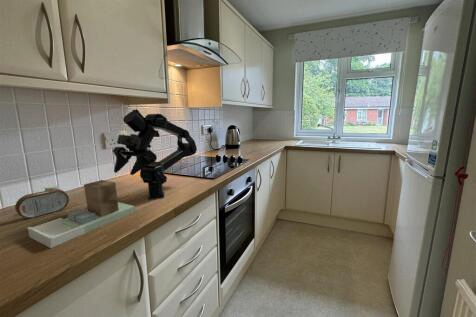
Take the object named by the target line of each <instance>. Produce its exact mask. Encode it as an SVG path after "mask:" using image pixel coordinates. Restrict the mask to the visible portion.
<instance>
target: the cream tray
mask: <svg viewBox="0 0 476 317" xmlns="http://www.w3.org/2000/svg"><path fill="white" fill-rule="evenodd" d="M62 219H63V218H62V217H59V218H56V219H53V220H51V221H48V222H44V223H41V224H39V225H35V226H32V227H31V226H28V227H27V232H28V237H29V238H30V239H33V240H34V241H36V242H38V243H40V244H42V245H44V246H46V247H48V248H50V249H53V248H54V247H57V246H59V245H62V244H64V243H67V242H69V241H71V240H74V239H76V238H78V237H80V236H83V235H85V234H86V233H84V226H80V227H78V228H75V229H73V228H71V227H68V226H66V225H63V221H62Z"/></svg>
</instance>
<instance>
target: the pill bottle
mask: <svg viewBox="0 0 476 317" xmlns="http://www.w3.org/2000/svg"><path fill="white" fill-rule="evenodd" d="M52 189H59V186H58V185H57V184H52V185H46V186H45V187H44V191H47V190H52Z"/></svg>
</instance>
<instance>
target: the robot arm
mask: <svg viewBox="0 0 476 317" xmlns="http://www.w3.org/2000/svg"><path fill="white" fill-rule="evenodd" d="M122 120H123V123H124V124H125V125H127V126H128V127H129V128H130V130H132V131H133V132H134V133H131V134H130V135H129V134H128V135H127V134H126V135H125V134H119V135H118V136H117V140H116V144H118V145H123V146H116V147H114V148H113V149H112V153H113V154H114V155H115V165H114V168H113V172H114V173H117V174H118V172H119V171H120V170H122V168H124V166H126V165H127V164H128V163H129V162H130V160H131V159H132V157H135V158H136V160H135V163H134V164H133V166H132V168H131V170H130V172H129V174H130V175H131V176H133V175H135V174H136V173H138V172H139V176H140V178H141V179H142V182H143V183H146V184H147V185H148V196H147V200H155V199H162V198H163V199H164V198H165V192H164V188H163V184H165V183H167V181H168V180H167V179H168V176H167V175H165V172H166V171H167V170H168V169H170V168H171V167H172V166H174V165H175V164H177V163H178V162H179V161H181V160H182V159H184V158H187V157H191V156H194V155H195V154H196V153H197V150H198V148H197V145H196V141H195V139H193V137H192V136H191V135H190V132H189V131H188V130H187V129H184V128H182V127H180V126H178V125H176V124H174V123H172V122H170V121H168V118H167V117H166V116H165V115H163V114H162V113H147V114H146V116H143V115H142V113H141V112H140V110H138V109H132V110H131V111H130V112H128V113H127V114H126V115H125V116H124V117H123V119H122ZM159 130H162V131H163V132H166V133H169V134H171V135H172V136H176V138H177V140H176V141H177V142H176V145H177V149H175V150H174V151H173V152H171V153H170V154H169V155H166V157H164V158H162V159H161V160H159V161H157V159H158V158H157V154H156V153H155V152H153V151H152V150H151V148H152V145H151V143H152V141H153V139H154V138H160V137H161V136H160V133H159ZM135 133H137V134H135ZM183 139H184V140H185V141H186V142H183ZM124 146H125V147H124Z"/></svg>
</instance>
